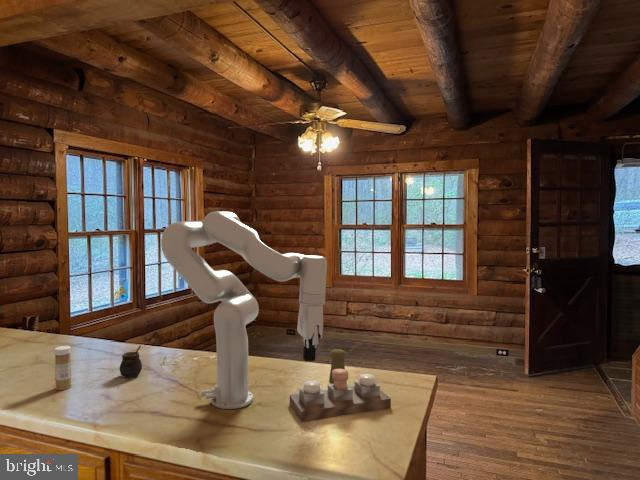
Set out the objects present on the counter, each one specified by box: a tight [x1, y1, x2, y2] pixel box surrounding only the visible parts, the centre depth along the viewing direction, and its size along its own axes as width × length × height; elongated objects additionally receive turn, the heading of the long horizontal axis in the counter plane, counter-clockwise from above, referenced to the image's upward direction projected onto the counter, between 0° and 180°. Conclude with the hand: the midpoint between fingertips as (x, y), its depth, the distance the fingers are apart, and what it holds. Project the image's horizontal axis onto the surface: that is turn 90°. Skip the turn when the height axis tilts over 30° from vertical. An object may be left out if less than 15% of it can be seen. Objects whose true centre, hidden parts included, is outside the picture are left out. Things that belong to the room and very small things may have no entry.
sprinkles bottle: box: [53, 345, 72, 391], centre depth 140 cm, size 5×5×13 cm
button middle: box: [332, 368, 349, 390], centre depth 129 cm, size 5×5×5 cm
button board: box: [289, 380, 392, 423], centre depth 129 cm, size 28×12×6 cm, turn 110°
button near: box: [303, 380, 321, 394], centre depth 126 cm, size 5×5×5 cm
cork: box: [328, 348, 346, 384], centre depth 149 cm, size 6×6×11 cm
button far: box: [358, 373, 376, 386], centre depth 132 cm, size 5×5×5 cm
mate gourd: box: [119, 345, 143, 379], centre depth 152 cm, size 7×8×10 cm
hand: (309, 360), depth 126 cm, fingers closed
